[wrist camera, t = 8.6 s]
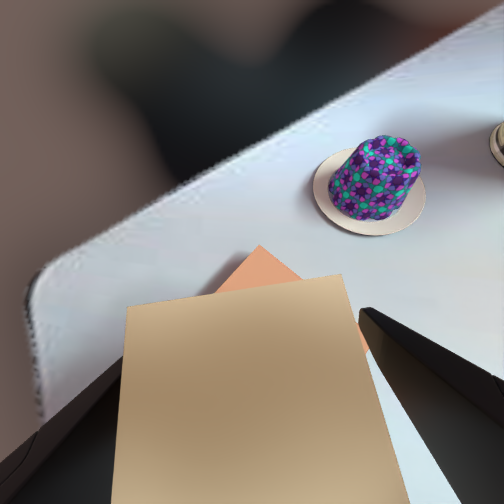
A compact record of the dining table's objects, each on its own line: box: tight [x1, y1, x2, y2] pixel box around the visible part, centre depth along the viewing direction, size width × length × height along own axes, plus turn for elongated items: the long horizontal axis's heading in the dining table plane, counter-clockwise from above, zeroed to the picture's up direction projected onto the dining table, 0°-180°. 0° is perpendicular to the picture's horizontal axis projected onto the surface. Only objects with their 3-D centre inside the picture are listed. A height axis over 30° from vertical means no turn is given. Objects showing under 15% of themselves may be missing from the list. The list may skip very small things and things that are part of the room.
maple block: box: [111, 274, 410, 504], centre depth 9 cm, size 5×5×12 cm
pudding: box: [313, 135, 426, 235], centre depth 20 cm, size 12×12×5 cm
